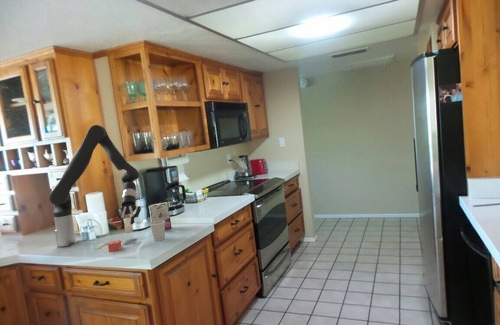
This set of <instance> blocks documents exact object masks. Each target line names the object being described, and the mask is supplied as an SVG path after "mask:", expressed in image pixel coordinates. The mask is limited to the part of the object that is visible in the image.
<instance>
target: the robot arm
mask: <svg viewBox="0 0 500 325" xmlns="http://www.w3.org/2000/svg"><path fill="white" fill-rule="evenodd" d="M98 145H100V146H101V147H102V149H103V150H104V152H105V154H106V155H107V157H108V158H109V161H111V163H112V165H113V166H114V167H115V168H116V169H117V170H118V171H122V170H124V171H125V172H124V173H123V174H122V175H121V178H120V180H121V184H122V187H123V188H122V195H121V206H120V208H119V209H117V208H116V209H115V212H116V216H117V218H118V220H121V222H120V223H121V225H122V226H124V220H123V219H124V218H127V215H131V216H130V217H131V224H132V225H134V224H135V219H136V218H139V216H140V213H141V212H142V211H141V210H142V208H141V205H139V206H137V184H136V183H135V182H134V181H136V180H137V179H139V177H140V174H139V171H138V169H136V168H135V167H134V166H133V165H131V164H130V162H128V161H127V160H126V158H125V157H124V156H123V155H122V153H121V152H120V151H119V150H118V148H117V147H116V146H115V145H114V142H113V141H112V139H110V136H109V134H108V133H107V131H106V128H105V127H103V126H101V125H100V124H94V125H91V126H90V127H89V128H88V130H87V132H86V133H85V137H84V138H83V141H82V143H81V144H80V146H79V147H78V149H76V152H75V153H74V154H73V156H72V157H71V159H70V161H69V163H68V165H67V166H66V168H65V170H64V172H63V174H62V175H61V178H60V180H59V182H58V183H57V184H56V186H55V187H54V188H53V189H52V191H51V192H50V193H49V195H48V196H49V198H48V199H49V202H50V203H51V204H52V205H53V208H54V209H53V217H54V225H55V230H54V235H55V242H56V247H57V248H58V247H67V246H72V245H74V244H75V243H76V242H77V238H76V230H75V225H74V219H73V213H72V212H73V206H72V203H73V202H72V196H71V190H72V188H73V187H74V185H75V184H76V183H77V181H78V180H79V179H80V178H81V176H82V175H83V174H84V173H85V171H86V169H87V168H88V166H89V164H90V162H91V159H92V156H93V153H94V150H95V149H96V147H97V146H98ZM124 227H125V226H124Z"/></svg>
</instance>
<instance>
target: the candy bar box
mask: <svg viewBox="0 0 500 325" xmlns="http://www.w3.org/2000/svg"><path fill="white" fill-rule="evenodd" d="M148 209H149V210H148V211H149V216H150V223H151V222H153V221H158V220H164V221H165V231H167V230H172V223H171V216H170V208H169V203H168V202H167V201H166V202H159V203H154V204H150V205H148Z"/></svg>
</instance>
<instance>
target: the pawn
mask: <svg viewBox="0 0 500 325" xmlns="http://www.w3.org/2000/svg"><path fill="white" fill-rule="evenodd" d="M131 217H132V216H130V217H125V218H124V219H123V220H124V232H125V234H128V233H133V232H134V228H133V224H131Z"/></svg>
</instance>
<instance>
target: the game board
mask: <svg viewBox="0 0 500 325" xmlns="http://www.w3.org/2000/svg"><path fill="white" fill-rule="evenodd" d="M138 239H139V238H138V237H137V238H136V237H135V238H131V239H126V240H125V239H123V240H121V247H122V246H123V247H124V246H130V245H134V244H136V243H137V241H138ZM110 242H111V241H109V242H102V243H99V244H98V246H96V247H95V249H94V250H95V251H96V250H103V249H107V248H108V244H109V243H110ZM108 249H109V248H108Z"/></svg>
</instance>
